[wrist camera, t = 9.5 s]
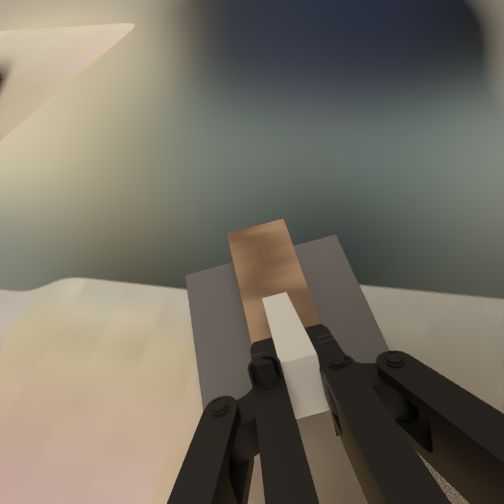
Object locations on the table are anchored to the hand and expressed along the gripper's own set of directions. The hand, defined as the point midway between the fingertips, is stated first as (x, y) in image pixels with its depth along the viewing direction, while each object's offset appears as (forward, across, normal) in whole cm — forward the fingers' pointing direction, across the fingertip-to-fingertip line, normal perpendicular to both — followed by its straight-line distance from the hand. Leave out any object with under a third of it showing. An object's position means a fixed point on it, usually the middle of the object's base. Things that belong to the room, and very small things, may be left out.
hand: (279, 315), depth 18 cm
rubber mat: (+6, 0, -3) cm, 7 cm away
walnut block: (0, 0, -5) cm, 5 cm away
